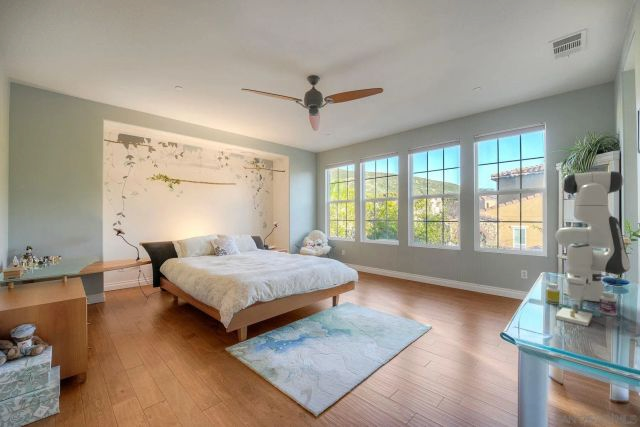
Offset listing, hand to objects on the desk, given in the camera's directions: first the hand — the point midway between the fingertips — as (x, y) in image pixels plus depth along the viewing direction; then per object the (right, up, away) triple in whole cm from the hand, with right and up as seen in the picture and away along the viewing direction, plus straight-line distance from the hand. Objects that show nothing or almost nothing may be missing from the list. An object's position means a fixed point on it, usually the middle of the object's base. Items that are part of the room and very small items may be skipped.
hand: (578, 306), depth 126 cm
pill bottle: (+11, -3, -2) cm, 12 cm away
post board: (-10, -2, -8) cm, 13 cm away
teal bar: (0, -2, 0) cm, 2 cm away
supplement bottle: (-2, -3, +12) cm, 12 cm away
